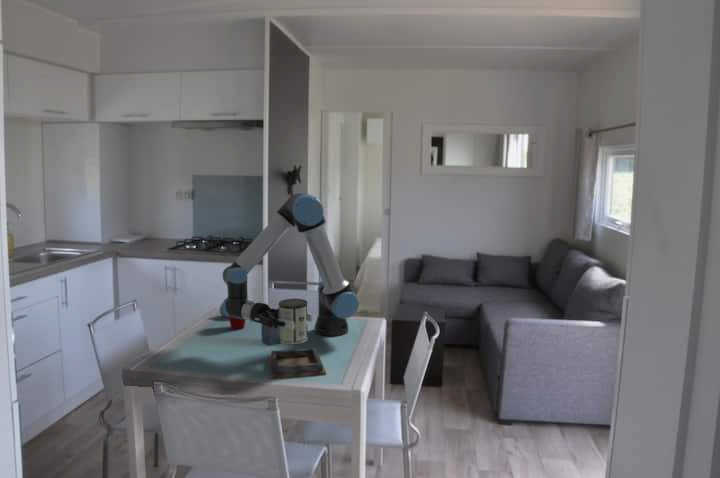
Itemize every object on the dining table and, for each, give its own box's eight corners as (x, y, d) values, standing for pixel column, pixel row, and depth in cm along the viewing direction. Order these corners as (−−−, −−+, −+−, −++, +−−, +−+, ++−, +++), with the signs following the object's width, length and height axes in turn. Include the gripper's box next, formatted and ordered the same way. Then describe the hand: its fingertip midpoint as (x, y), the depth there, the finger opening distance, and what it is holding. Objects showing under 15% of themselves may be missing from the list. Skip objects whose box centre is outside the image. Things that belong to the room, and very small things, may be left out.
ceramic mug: (231, 320, 249) (231, 304, 248) (219, 317, 254) (219, 302, 253) (247, 315, 258) (247, 300, 257) (236, 313, 262) (235, 298, 261)
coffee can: (287, 333, 198) (286, 297, 196) (312, 337, 194) (312, 299, 192) (274, 342, 188) (273, 304, 186) (300, 345, 185) (299, 306, 183)
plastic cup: (238, 322, 246) (238, 297, 244) (254, 327, 240) (254, 301, 238) (220, 328, 237) (219, 302, 235) (236, 333, 231) (235, 306, 229)
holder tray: (317, 355, 204) (317, 347, 204) (325, 374, 186) (325, 364, 185) (268, 359, 200) (268, 350, 199) (271, 378, 182) (271, 369, 181)
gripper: (276, 314, 210) (321, 323, 198) (235, 329, 191) (282, 340, 179) (276, 296, 209) (321, 304, 197) (234, 309, 190) (281, 319, 178)
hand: (302, 321), depth 188 cm, fingers closed on coffee can, 10 cm apart
